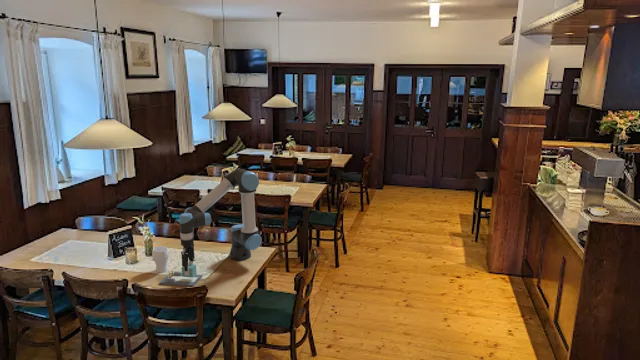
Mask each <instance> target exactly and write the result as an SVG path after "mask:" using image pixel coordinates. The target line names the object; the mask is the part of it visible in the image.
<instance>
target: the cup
mask: <svg viewBox="0 0 640 360" xmlns="http://www.w3.org/2000/svg"><path fill="white" fill-rule="evenodd" d="M151 257H152V260H153V261H154V262H155V272H156V273H160V274H161V273H165V272H167V271H168V270H169V267H168V260H169V257H170V251H169V248H168V246H166V245H165V246H164V245H162V246H161V245H160V246H156V247H154V248H153V249H152V252H151Z"/></svg>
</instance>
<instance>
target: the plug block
mask: <svg viewBox="0 0 640 360" xmlns="http://www.w3.org/2000/svg"><path fill="white" fill-rule="evenodd" d="M188 265H189V276H186V275H185V272H184V266H182V267H181V273H182V277H191V278H193V277H194V276H195V275H197V265H196V264H193V265H191V264H189V263H188Z"/></svg>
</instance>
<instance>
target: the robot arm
mask: <svg viewBox="0 0 640 360" xmlns="http://www.w3.org/2000/svg"><path fill="white" fill-rule="evenodd" d="M259 184H260V180H259V177H258V175H257V174H256V173H255V172H254V171H250V170H246V169H243V168H237V169H234V170H232V171H231V172H229V173H228V174H226V176H224V177H223V179H222V181H221V182H220V183H219V184H217V185H216V186H215V187H214V188H213V189H211V190H210V191H209V192H208V193H207V194H206V195H205V196H204V197H202V198H201V199H200V200H199V201H198V202H196V203H195V204H194V205H193V206H192V207H187V208H186V209H185V210H184V212H183V213H181V214H179V219H178V221H179V222H178V223H179V235H180V245H181V246H182V247H183V249H182V251H180V254H181V255H180V256H181V266H182V267H183V266H184V272H185V275H186V276H189V265H188V264H191V265H194V262H195V261H196V260H195V244H194V228H199V227H203V226H208V225H210V224H211V223H212V216H211V214H210V213H209V212H206V211H208V209H210V208H211V207H212V206H213V205H214V204H216V202H218V201H219V200H220V199H221V198H222V197H223V196H225V195H226V194H227V193H228V192H229V191H230V190H233V189H235V188H236V187H238V193H239V194H240V199H241V201H240V202H241V215H242V217H241V218H242V223H241V224H239V223H238V224H234V225H232V226H231V227H230V239H231V240H230V241H231V248H230V250H229V258H230V259H231V260H234V261H244V260H247V259H250V258H251V257H252V251H255V250H256V249H258V248H259V247H260V246H261V244H262V236H261V235H260V234H259V228H258V227H257V226H256V225H257V224H256V207H255V205H256V204H255V203H256V202H255V193H256V192H257V188H258V187H259Z"/></svg>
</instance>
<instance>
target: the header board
mask: <svg viewBox="0 0 640 360" xmlns="http://www.w3.org/2000/svg"><path fill="white" fill-rule="evenodd" d="M202 277H203V274H196V275H195V276H194V277H193V278H191V277H182V271H174V270H173V269H172V270H171V272H169V273H167V274H166V275H165V277H163V278H162V279H161V280H160V281H159V282H158V284H159V285H162V286H163V285H164V286H177V287H178V286H179V287H188V288H193V287H194V286H195V285H197V283H198V282H199V281H200V280H201V279H202ZM192 286H193V287H192Z"/></svg>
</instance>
